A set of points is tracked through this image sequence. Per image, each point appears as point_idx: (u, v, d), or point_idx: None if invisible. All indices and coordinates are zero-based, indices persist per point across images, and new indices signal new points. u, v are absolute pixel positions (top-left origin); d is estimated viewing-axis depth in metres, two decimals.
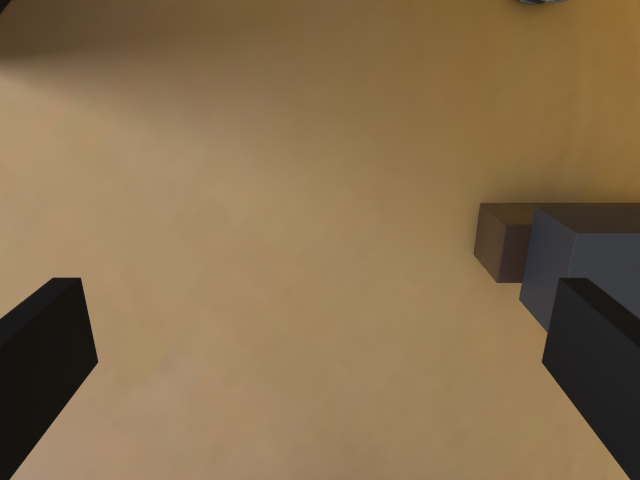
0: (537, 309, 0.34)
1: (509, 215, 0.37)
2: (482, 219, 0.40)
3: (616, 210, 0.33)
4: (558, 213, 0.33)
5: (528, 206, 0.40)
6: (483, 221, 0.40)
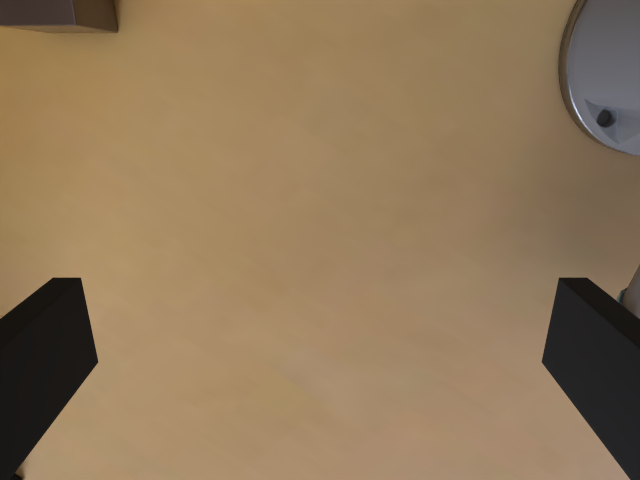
0: None
1: None
2: (58, 31, 0.32)
3: None
4: None
5: None
6: (55, 31, 0.31)
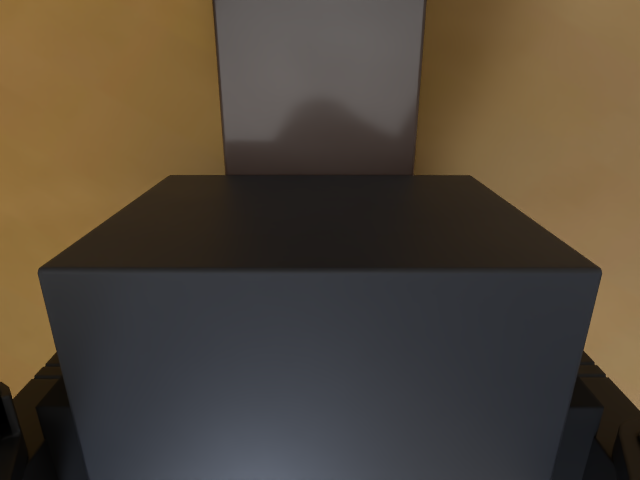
0: None
1: None
2: None
3: None
4: None
5: None
6: None
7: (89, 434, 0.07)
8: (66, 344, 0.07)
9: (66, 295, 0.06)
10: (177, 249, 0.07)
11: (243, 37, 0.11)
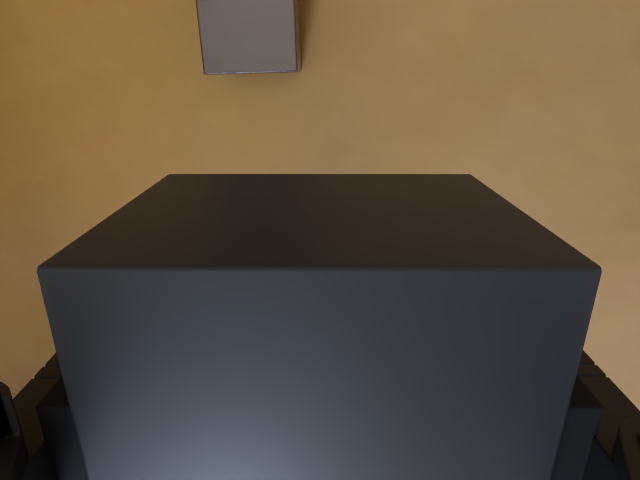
0: None
1: None
2: None
3: None
4: None
5: None
6: None
7: (88, 432, 0.07)
8: (65, 342, 0.07)
9: (65, 293, 0.06)
10: (177, 247, 0.07)
11: None
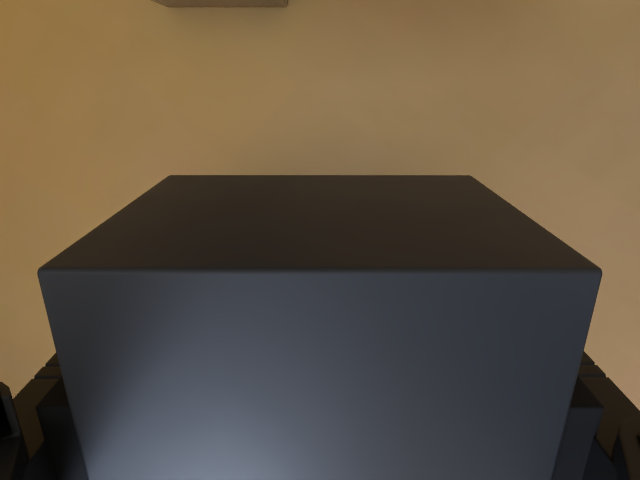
0: None
1: None
2: (188, 4, 0.18)
3: None
4: None
5: None
6: (187, 2, 0.17)
7: (89, 434, 0.07)
8: (66, 344, 0.07)
9: (66, 295, 0.06)
10: (177, 249, 0.07)
11: None
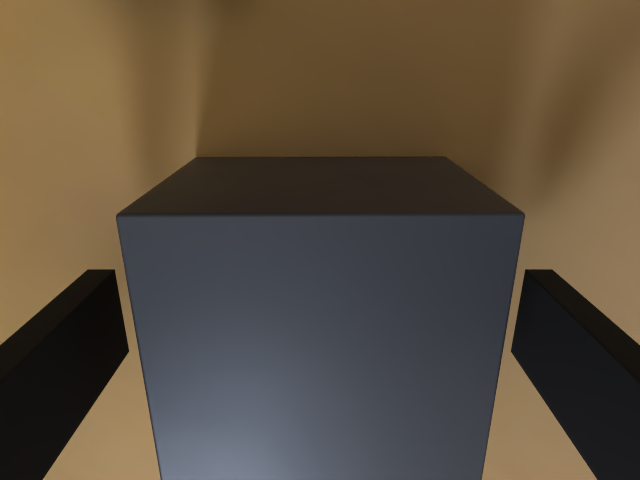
0: None
1: None
2: None
3: None
4: None
5: None
6: None
7: (147, 344, 0.10)
8: (134, 272, 0.09)
9: (136, 234, 0.09)
10: (214, 203, 0.09)
11: None
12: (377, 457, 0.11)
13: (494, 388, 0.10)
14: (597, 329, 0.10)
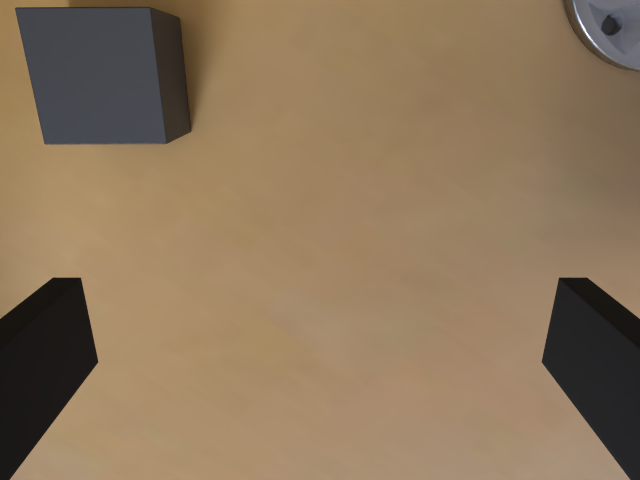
0: None
1: None
2: None
3: None
4: None
5: None
6: None
7: (30, 61, 0.28)
8: (22, 30, 0.27)
9: (22, 15, 0.27)
10: None
11: None
12: (121, 115, 0.29)
13: (157, 81, 0.28)
14: None
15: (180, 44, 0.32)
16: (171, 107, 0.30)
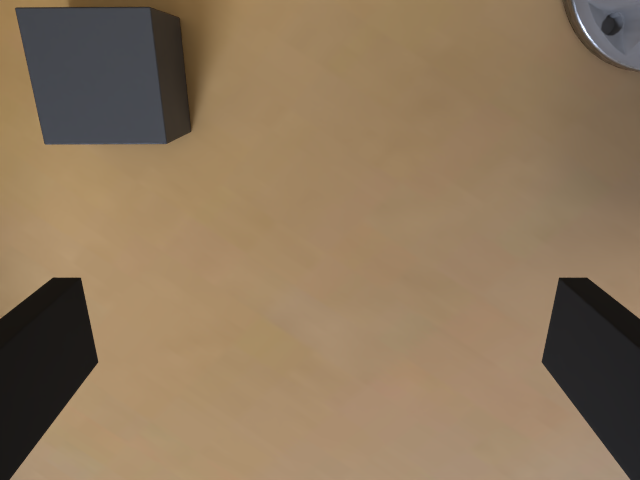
0: None
1: None
2: None
3: None
4: None
5: None
6: None
7: (30, 61, 0.28)
8: (22, 30, 0.27)
9: (22, 15, 0.27)
10: None
11: None
12: (121, 115, 0.29)
13: (157, 81, 0.28)
14: None
15: (180, 44, 0.32)
16: (171, 107, 0.30)
